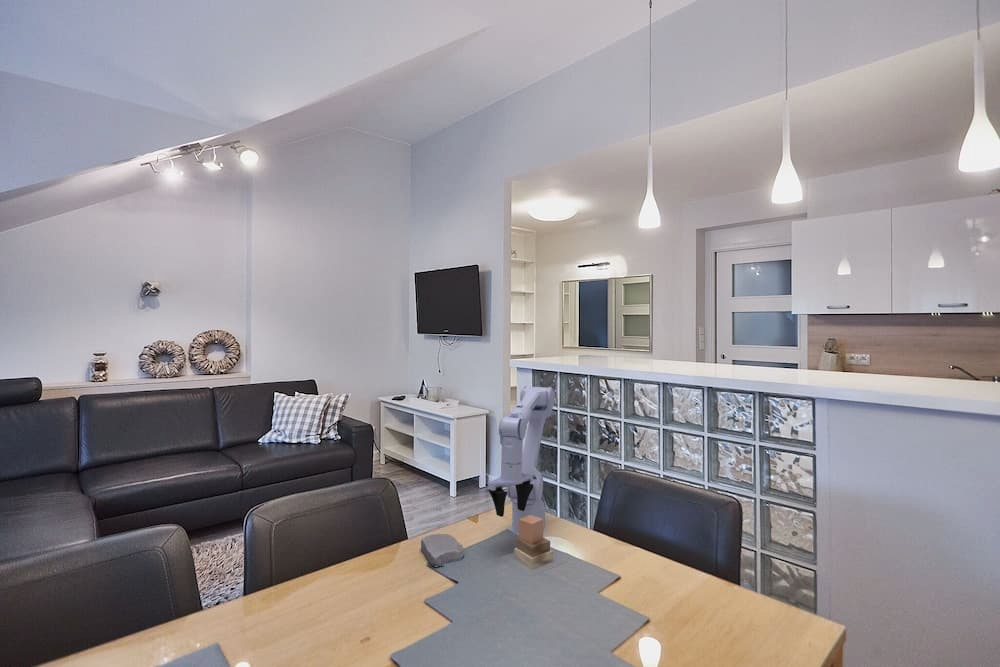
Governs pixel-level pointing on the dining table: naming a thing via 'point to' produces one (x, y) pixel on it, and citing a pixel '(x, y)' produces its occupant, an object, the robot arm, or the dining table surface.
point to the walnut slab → (533, 547)
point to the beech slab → (533, 558)
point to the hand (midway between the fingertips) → (510, 512)
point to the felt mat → (535, 570)
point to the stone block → (441, 549)
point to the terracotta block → (531, 529)
